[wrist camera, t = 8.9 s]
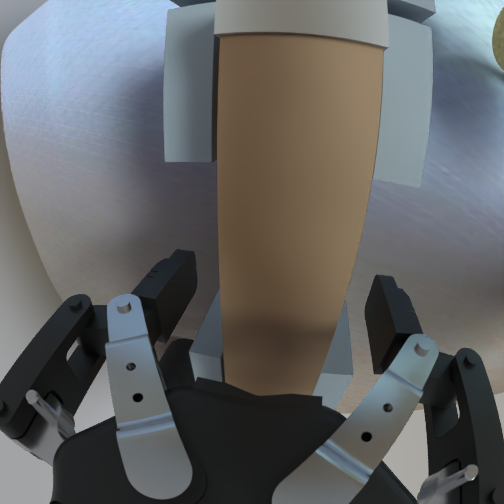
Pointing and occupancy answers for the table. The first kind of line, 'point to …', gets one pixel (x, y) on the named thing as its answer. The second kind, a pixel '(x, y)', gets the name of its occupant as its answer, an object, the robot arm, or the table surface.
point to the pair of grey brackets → (205, 140)
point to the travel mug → (177, 364)
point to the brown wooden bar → (292, 178)
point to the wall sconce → (499, 40)
